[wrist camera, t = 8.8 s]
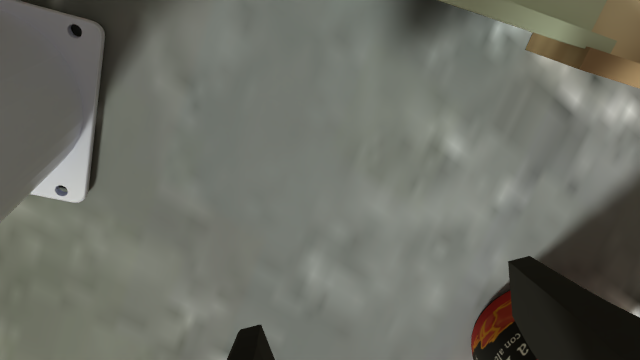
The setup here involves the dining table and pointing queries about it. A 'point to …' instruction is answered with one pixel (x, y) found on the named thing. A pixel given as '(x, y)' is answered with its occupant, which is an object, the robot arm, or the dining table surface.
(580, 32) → the ramp
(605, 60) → the lane
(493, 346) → the canned food
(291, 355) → the dining table surface
